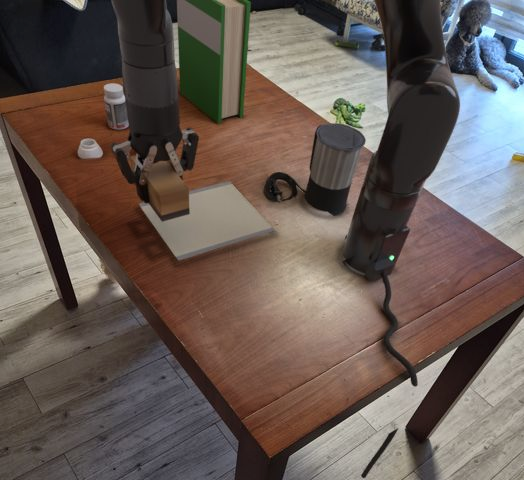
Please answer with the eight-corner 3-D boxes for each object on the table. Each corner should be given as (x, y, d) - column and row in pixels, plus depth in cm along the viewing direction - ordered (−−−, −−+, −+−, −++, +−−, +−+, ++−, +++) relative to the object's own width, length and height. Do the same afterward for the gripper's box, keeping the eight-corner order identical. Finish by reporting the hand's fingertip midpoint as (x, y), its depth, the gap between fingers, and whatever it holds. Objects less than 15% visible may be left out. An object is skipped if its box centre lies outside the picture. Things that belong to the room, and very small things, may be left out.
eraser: (189, 214, 78) (188, 187, 74) (161, 221, 76) (159, 195, 72) (160, 176, 84) (157, 150, 80) (133, 183, 82) (129, 156, 78)
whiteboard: (274, 235, 90) (275, 230, 89) (178, 265, 82) (178, 260, 81) (229, 186, 98) (229, 180, 97) (138, 209, 90) (138, 203, 89)
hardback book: (242, 117, 117) (250, 2, 98) (218, 123, 114) (221, 6, 95) (204, 87, 125) (204, -25, 106) (180, 92, 121) (176, -22, 102)
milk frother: (355, 211, 97) (376, 142, 86) (293, 231, 91) (306, 160, 79) (315, 175, 104) (330, 107, 92) (255, 191, 98) (262, 120, 86)
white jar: (80, 163, 98) (105, 160, 99) (77, 149, 95) (102, 147, 97) (76, 150, 100) (100, 148, 102) (73, 137, 98) (98, 135, 99)
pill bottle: (131, 121, 110) (127, 84, 103) (126, 131, 107) (121, 93, 100) (111, 118, 110) (105, 80, 103) (105, 128, 107) (99, 90, 100)
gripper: (112, 113, 62) (129, 220, 75) (208, 96, 68) (208, 198, 81) (92, 89, 66) (112, 194, 79) (185, 74, 71) (189, 175, 85)
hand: (161, 196), depth 80 cm, fingers closed on eraser, 5 cm apart
